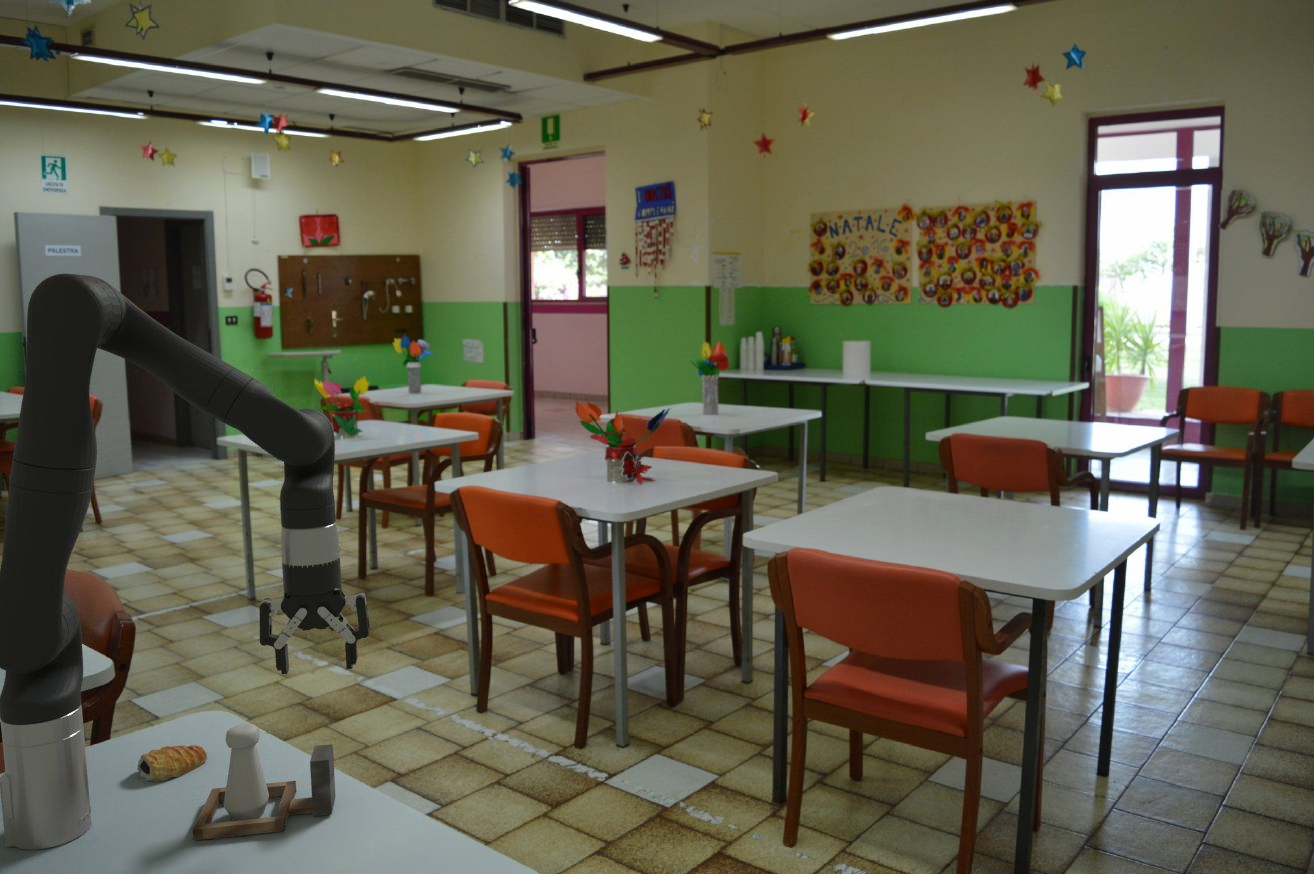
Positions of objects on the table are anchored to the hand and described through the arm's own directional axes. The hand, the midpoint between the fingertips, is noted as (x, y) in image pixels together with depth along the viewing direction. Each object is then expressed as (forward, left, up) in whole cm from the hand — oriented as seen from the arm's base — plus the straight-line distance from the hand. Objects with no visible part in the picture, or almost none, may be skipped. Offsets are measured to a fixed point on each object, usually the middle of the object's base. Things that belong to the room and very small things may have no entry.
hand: (318, 669), depth 139 cm
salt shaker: (-10, 0, -21) cm, 23 cm away
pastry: (-25, +17, -21) cm, 37 cm away
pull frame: (-7, 0, -20) cm, 21 cm away
